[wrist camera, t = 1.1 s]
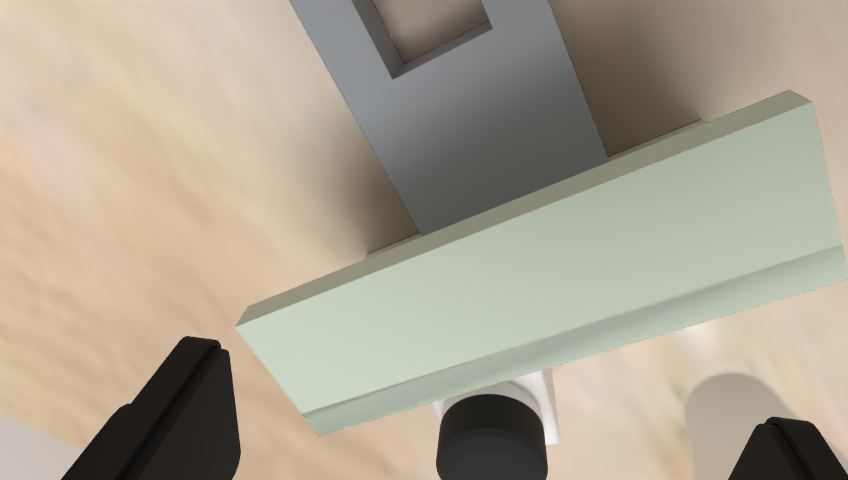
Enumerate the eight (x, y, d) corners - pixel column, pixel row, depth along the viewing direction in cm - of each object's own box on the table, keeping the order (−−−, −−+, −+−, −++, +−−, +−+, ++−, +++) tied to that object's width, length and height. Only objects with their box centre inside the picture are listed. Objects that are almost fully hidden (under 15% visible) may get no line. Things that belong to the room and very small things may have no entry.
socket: (476, -180, 26) (472, -198, 22) (600, 147, 33) (613, 172, 29) (285, -58, 29) (256, -57, 26) (433, 215, 36) (427, 246, 32)
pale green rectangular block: (675, 30, 29) (812, 101, 17) (709, 142, 32) (849, 279, 19) (326, 189, 36) (234, 327, 23) (377, 271, 38) (319, 435, 26)
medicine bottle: (431, 306, 39) (407, 440, 29) (531, 288, 38) (545, 423, 27) (457, 382, 42) (445, 528, 32) (551, 368, 41) (570, 517, 30)
